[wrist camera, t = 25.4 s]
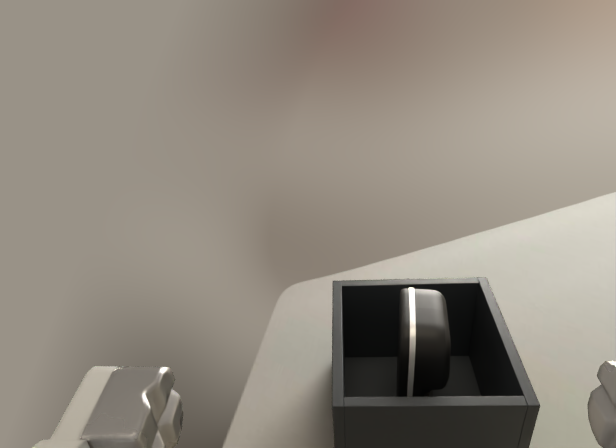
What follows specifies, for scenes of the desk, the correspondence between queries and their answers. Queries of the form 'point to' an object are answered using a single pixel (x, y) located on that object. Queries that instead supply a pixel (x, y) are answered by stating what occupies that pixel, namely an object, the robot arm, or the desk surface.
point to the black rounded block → (422, 343)
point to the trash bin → (445, 402)
